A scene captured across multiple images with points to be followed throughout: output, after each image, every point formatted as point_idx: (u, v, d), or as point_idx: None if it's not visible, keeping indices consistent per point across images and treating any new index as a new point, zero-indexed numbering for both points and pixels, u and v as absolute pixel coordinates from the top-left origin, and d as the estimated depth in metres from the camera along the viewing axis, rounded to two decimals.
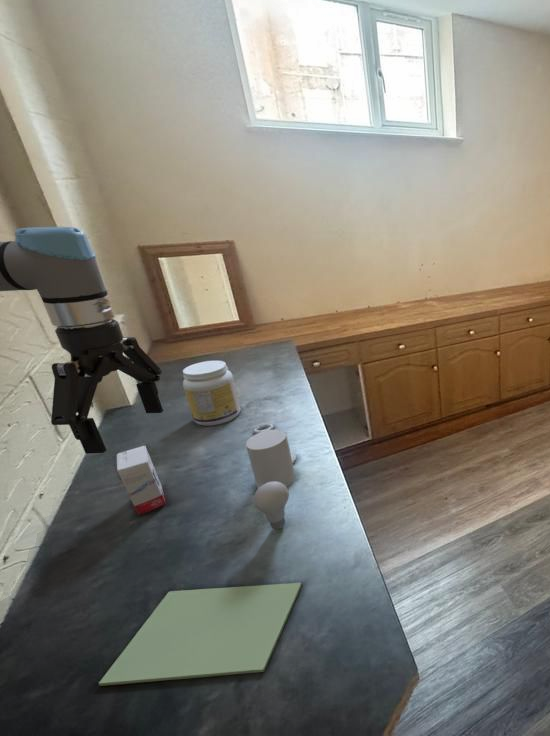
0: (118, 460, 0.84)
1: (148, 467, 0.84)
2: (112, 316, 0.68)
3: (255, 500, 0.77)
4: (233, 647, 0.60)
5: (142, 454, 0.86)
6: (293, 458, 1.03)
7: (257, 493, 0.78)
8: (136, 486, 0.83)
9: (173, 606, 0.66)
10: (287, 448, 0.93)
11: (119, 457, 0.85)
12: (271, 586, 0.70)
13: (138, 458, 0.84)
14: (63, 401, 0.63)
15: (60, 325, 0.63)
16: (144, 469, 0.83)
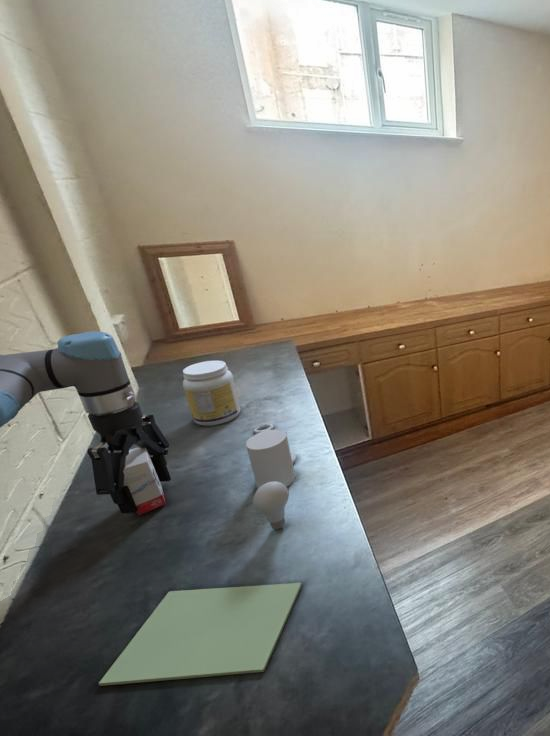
0: None
1: (148, 467, 0.84)
2: (134, 401, 0.81)
3: (255, 500, 0.77)
4: (233, 647, 0.60)
5: (143, 454, 0.86)
6: (293, 458, 1.03)
7: (257, 493, 0.78)
8: (136, 486, 0.83)
9: (173, 606, 0.66)
10: (287, 448, 0.93)
11: None
12: (271, 586, 0.70)
13: (138, 458, 0.84)
14: (103, 477, 0.77)
15: (92, 413, 0.77)
16: (144, 469, 0.83)
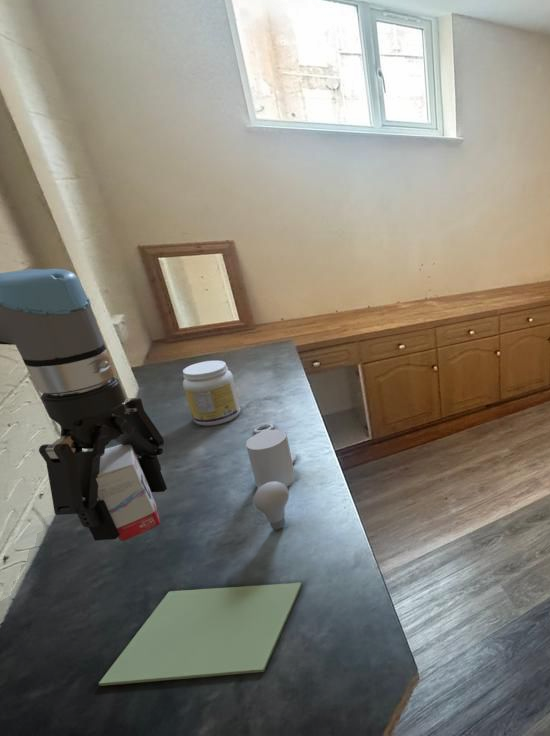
0: None
1: (134, 472, 0.58)
2: (112, 375, 0.55)
3: (255, 500, 0.77)
4: (233, 647, 0.60)
5: (126, 454, 0.60)
6: (293, 458, 1.03)
7: (257, 493, 0.78)
8: (117, 500, 0.57)
9: (173, 606, 0.66)
10: (287, 448, 0.93)
11: None
12: (271, 586, 0.70)
13: (120, 460, 0.58)
14: (64, 488, 0.51)
15: (47, 392, 0.51)
16: (128, 475, 0.57)
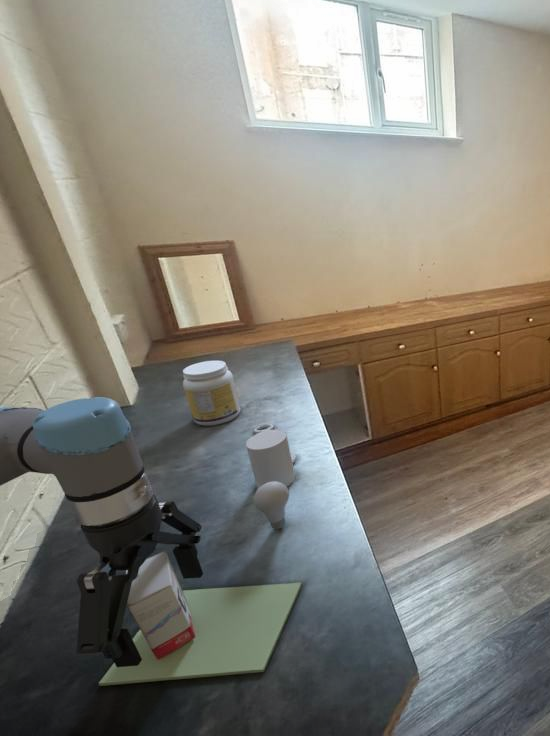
0: None
1: (172, 592, 0.57)
2: (150, 496, 0.54)
3: (255, 500, 0.77)
4: (233, 647, 0.60)
5: (163, 569, 0.59)
6: (293, 458, 1.03)
7: (257, 493, 0.78)
8: (155, 622, 0.57)
9: None
10: (287, 448, 0.93)
11: None
12: (271, 586, 0.70)
13: (157, 578, 0.58)
14: (92, 623, 0.49)
15: (88, 524, 0.50)
16: (166, 596, 0.57)
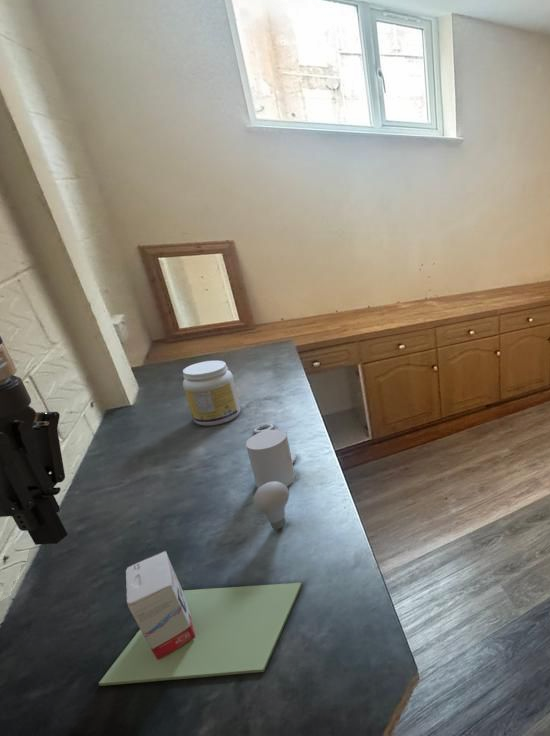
0: (128, 582, 0.57)
1: (172, 592, 0.57)
2: (9, 374, 0.47)
3: (255, 500, 0.77)
4: (233, 647, 0.60)
5: (163, 569, 0.59)
6: (293, 458, 1.03)
7: (257, 492, 0.78)
8: (155, 622, 0.57)
9: None
10: (287, 448, 0.93)
11: (129, 576, 0.58)
12: (271, 586, 0.70)
13: (157, 578, 0.58)
14: None
15: None
16: (166, 596, 0.57)
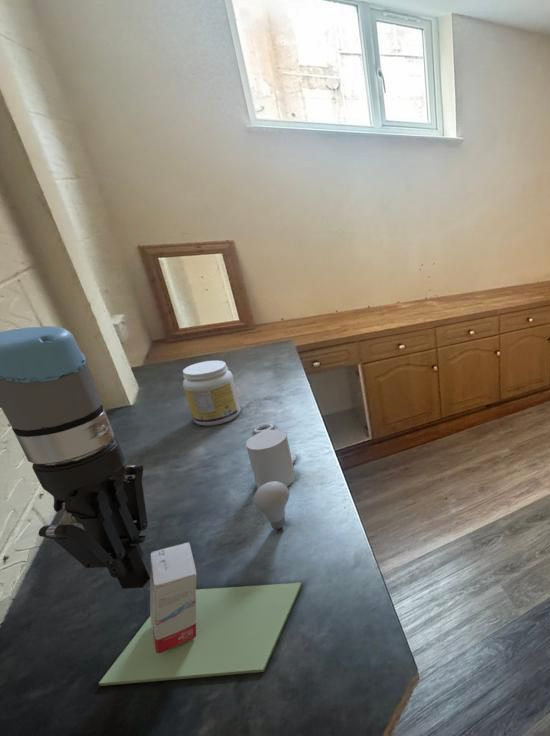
0: (154, 566, 0.59)
1: (194, 582, 0.59)
2: (110, 438, 0.51)
3: (255, 500, 0.77)
4: (233, 647, 0.60)
5: (188, 558, 0.61)
6: (293, 458, 1.03)
7: (257, 492, 0.78)
8: (170, 610, 0.58)
9: None
10: (287, 448, 0.93)
11: (155, 560, 0.60)
12: (271, 586, 0.70)
13: (182, 565, 0.60)
14: (85, 554, 0.50)
15: (38, 463, 0.46)
16: (189, 585, 0.58)
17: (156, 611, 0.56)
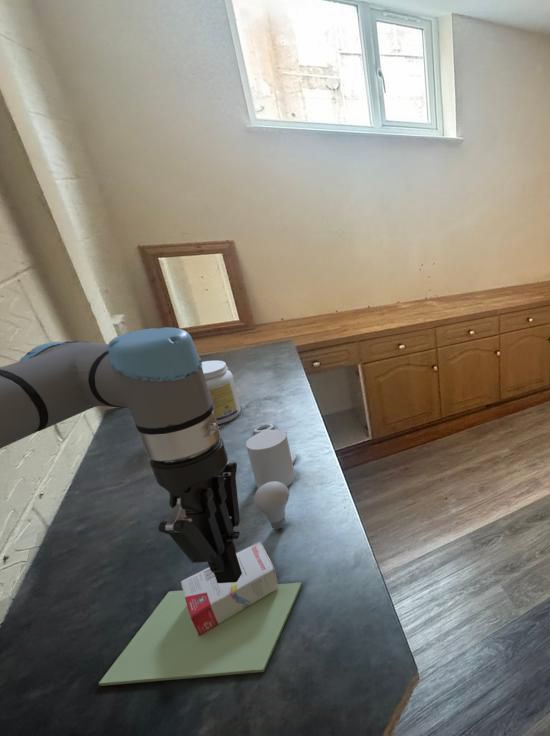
0: (266, 553, 0.71)
1: (270, 592, 0.68)
2: (218, 436, 0.52)
3: (255, 500, 0.77)
4: (233, 647, 0.60)
5: None
6: (293, 458, 1.03)
7: (257, 492, 0.78)
8: (245, 594, 0.65)
9: (173, 606, 0.66)
10: (287, 448, 0.93)
11: (264, 550, 0.71)
12: None
13: None
14: (194, 549, 0.52)
15: (160, 460, 0.47)
16: (269, 590, 0.68)
17: (247, 585, 0.65)
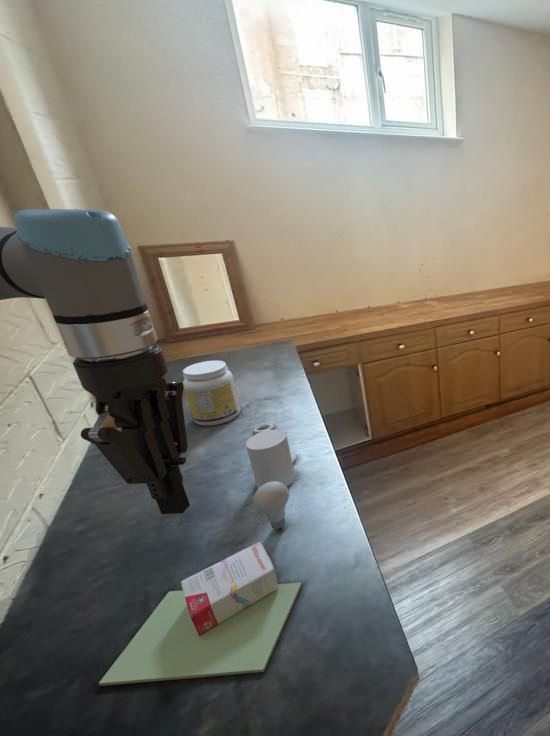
0: (266, 553, 0.71)
1: (270, 592, 0.68)
2: (154, 340, 0.47)
3: (255, 500, 0.77)
4: (233, 647, 0.60)
5: None
6: (293, 458, 1.03)
7: (257, 492, 0.78)
8: (245, 594, 0.65)
9: (173, 606, 0.66)
10: (287, 448, 0.93)
11: (264, 550, 0.71)
12: None
13: None
14: (127, 465, 0.46)
15: (81, 356, 0.42)
16: (269, 590, 0.68)
17: (247, 585, 0.65)
